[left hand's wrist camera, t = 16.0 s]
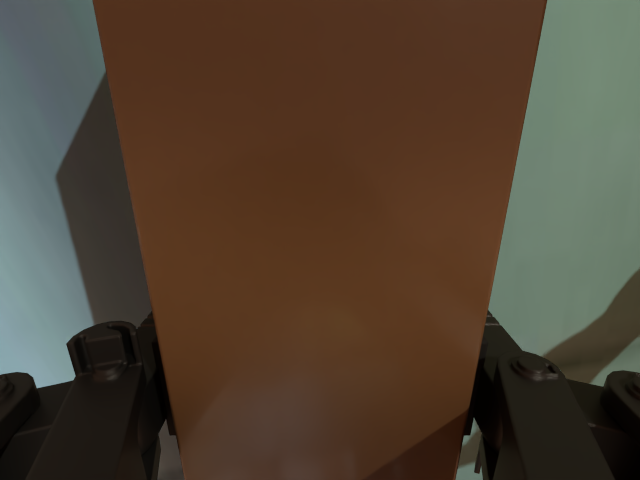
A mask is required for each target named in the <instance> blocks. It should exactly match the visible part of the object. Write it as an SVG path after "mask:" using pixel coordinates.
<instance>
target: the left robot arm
mask: <svg viewBox="0 0 640 480" xmlns="http://www.w3.org/2000/svg"><path fill="white" fill-rule="evenodd" d="M66 345H67V348H68V351H69V355H70V358H71V361H72V365H73V368H74V372H75V375H76V376H75V378H74V380H73V381H69V382H65V383H60V384H56V385H51V386H46V387H42V388H36V385H35V382H34V379H33V377H32V376H30V375H29V374H28V373H20V372H15V373H8V374H2V375H0V480H157V476H158V468H159V460H160V453H161V446H160V440H159V435H158V433H159V431H160V429H161V427H162V425H163V423H164V421H165V419H166V420H167V425H168V430H169V435H176V433H175V427H174V422H173V417H172V412H171V407H170V401H169V396H168V391H167V386H166V380H165V375H164V370H163V365H162V360H161V354H160V349H159V344H158V339H157V334H156V328H155V323H154V318H153V313H152V312H151V313H150V314H149V315H148V318H146V319H145V320H144V321H143V322H142V324H141V326H140V327H138V328H137V330H136V327H135V326H134V325H133V324H131V323H129V322H124V321H111V322H106V323H101V324H97V325H94V326H92V327H89V328H87V329H84V330H83V331H81V332H79V333H78V334H76V335H75V336H73V337H72V338H71V339H70V340H69V341H68V343H67V344H66ZM473 418H475V420H476V422H477V424H478V426H479V428H480V430H481V432H482V435H481V440H480V444H479V449H478V454H477V459H476V463H475V470H474V472H475V473H478V474H479V473H480V468H481V467H482V475H483V480H640V373H637V372H630V371H624V370H623V371H614V372H612V373H610V374H609V375H608V376H607V378H606V381H605V384H604V387H601V386H597V385H592V384H587V383H582V382H578V381H573V380H569V379H566V378H565V376H564V374H563V373H562V372H561V371H560V369H559V368H558V367H557V366H556V365H554V364H553V363H551V362H550V361H549V360H547V359H545V358H543V357H541V356H538V355H536V354H533V353H529V352H525V351H522V350H521V348H520V347H519V346H518V345H517V344H516V342H515V341H514V340H513V339H512V338H511V337H510V335H509V334H508V333H507V332H506V331H505V329H504V328H503V327H502V326H501V325H499V322H498V321H497V320H496V319H495V318H494V317H492V314H491V313H490V312H489V310H488V312H487V317H486V322H485V327H484V333H483V338H482V343H481V348H480V353H479V359H478V364H477V369H476V374H475V380H474V385H473V390H472V395H471V400H470V406H469V411H468V416H467V421H466V427H465V432H464V435H470V434H471V429H472V424H473Z"/></svg>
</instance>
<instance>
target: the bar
mask: <svg viewBox="0 0 640 480" xmlns="http://www.w3.org/2000/svg"><path fill="white" fill-rule="evenodd" d="M546 4H547V0H93V5H94V10H95V15H96V21H97V26H98V31H99V36H100V41H101V47H102V52H103V57H104V62H105V68H106V73H107V78H108V83H109V88H110V94H111V99H112V104H113V109H114V115H115V120H116V125H117V130H118V135H119V141H120V146H121V151H122V156H123V161H124V167H125V172H126V177H127V182H128V188H129V193H130V198H131V203H132V208H133V214H134V219H135V224H136V229H137V234H138V240H139V245H140V250H141V255H142V261H143V266H144V271H145V276H146V281H147V287H148V292H149V297H150V302H151V307H152V313H153V318H154V323H155V328H156V334H157V339H158V344H159V349H160V354H161V360H162V365H163V370H164V375H165V380H166V386H167V391H168V396H169V401H170V407H171V412H172V417H173V422H174V427H175V433H176V438H177V443H178V448H179V453H180V459H181V464H182V469H183V474H184V480H455V479H456V474H457V468H458V463H459V458H460V453H461V447H462V442H463V437H464V432H465V427H466V421H467V416H468V411H469V406H470V400H471V395H472V390H473V385H474V380H475V374H476V369H477V364H478V359H479V353H480V348H481V343H482V338H483V333H484V327H485V322H486V317H487V312H488V306H489V301H490V296H491V291H492V286H493V280H494V275H495V270H496V265H497V259H498V254H499V249H500V244H501V239H502V233H503V228H504V223H505V218H506V212H507V207H508V202H509V197H510V192H511V186H512V181H513V176H514V171H515V165H516V160H517V155H518V150H519V145H520V139H521V134H522V129H523V124H524V119H525V113H526V108H527V103H528V98H529V92H530V87H531V82H532V77H533V72H534V66H535V61H536V56H537V51H538V45H539V40H540V35H541V30H542V25H543V19H544V14H545V9H546Z"/></svg>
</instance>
